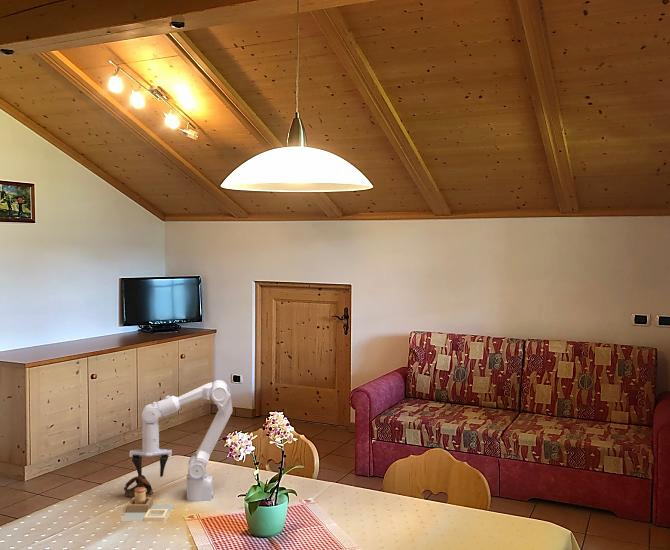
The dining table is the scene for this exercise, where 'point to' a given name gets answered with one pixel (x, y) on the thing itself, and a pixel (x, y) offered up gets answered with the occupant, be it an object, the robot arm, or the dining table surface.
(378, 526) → the dining table surface
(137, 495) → the pin
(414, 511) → the dining table surface
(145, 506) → the mount
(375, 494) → the dining table surface
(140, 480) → the brown curved piece
